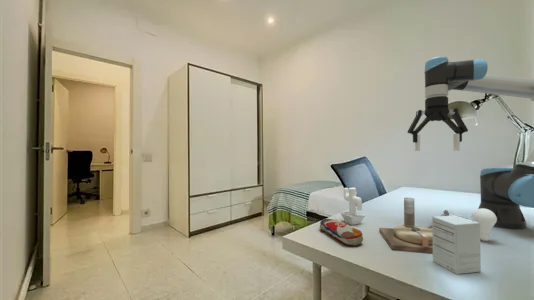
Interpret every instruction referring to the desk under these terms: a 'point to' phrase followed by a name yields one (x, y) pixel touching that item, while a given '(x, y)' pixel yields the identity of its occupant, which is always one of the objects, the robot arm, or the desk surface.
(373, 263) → the desk surface
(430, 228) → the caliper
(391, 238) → the stand
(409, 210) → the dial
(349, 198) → the figurine
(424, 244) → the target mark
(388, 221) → the desk surface
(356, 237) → the pencil case
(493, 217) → the lightbulb
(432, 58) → the robot arm
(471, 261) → the supplement box
